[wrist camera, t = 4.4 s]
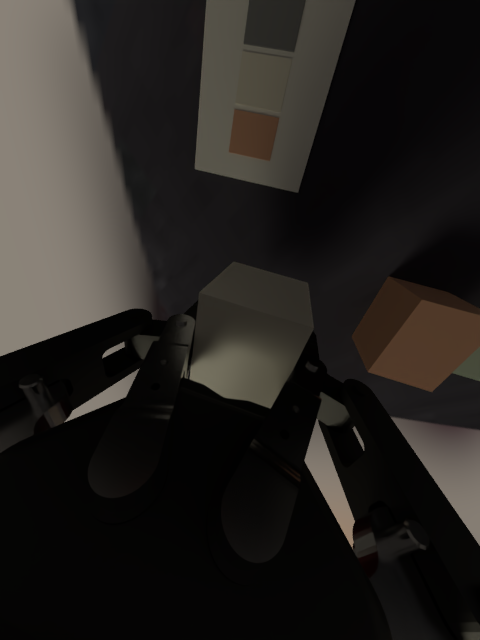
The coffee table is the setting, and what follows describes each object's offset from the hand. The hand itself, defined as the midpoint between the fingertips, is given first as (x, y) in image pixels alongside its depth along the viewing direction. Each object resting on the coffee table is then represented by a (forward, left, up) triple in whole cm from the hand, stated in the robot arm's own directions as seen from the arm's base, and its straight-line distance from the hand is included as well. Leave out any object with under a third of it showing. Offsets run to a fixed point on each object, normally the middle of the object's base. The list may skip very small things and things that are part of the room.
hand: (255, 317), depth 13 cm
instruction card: (-12, -4, -7) cm, 15 cm away
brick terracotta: (0, +11, -7) cm, 13 cm away
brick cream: (0, 0, 0) cm, 0 cm away
